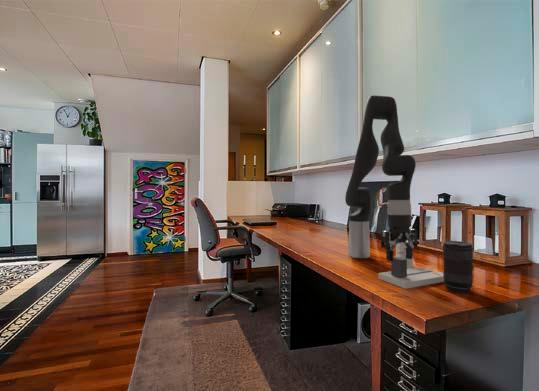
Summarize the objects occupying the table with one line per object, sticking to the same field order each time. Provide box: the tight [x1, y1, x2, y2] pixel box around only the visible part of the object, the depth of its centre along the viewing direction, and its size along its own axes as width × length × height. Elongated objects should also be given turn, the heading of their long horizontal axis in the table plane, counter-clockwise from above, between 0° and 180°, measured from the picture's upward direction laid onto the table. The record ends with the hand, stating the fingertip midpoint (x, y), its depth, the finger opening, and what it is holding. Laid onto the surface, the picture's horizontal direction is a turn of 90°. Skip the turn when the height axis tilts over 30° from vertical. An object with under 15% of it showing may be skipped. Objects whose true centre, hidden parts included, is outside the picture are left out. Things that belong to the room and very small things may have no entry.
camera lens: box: [442, 240, 474, 294], centre depth 93 cm, size 8×8×15 cm
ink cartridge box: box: [395, 242, 414, 269], centre depth 120 cm, size 9×5×15 cm, turn 168°
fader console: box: [378, 266, 444, 289], centre depth 104 cm, size 12×21×2 cm, turn 112°
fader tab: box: [390, 256, 407, 278], centre depth 101 cm, size 4×3×6 cm
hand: (399, 259), depth 101 cm, fingers open, 8 cm apart
